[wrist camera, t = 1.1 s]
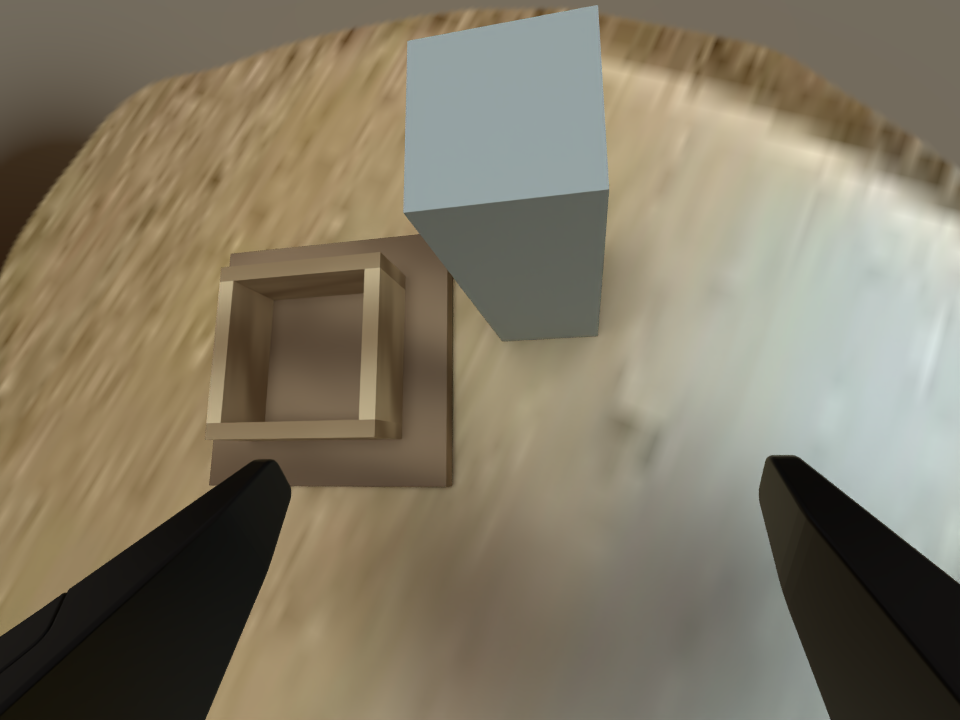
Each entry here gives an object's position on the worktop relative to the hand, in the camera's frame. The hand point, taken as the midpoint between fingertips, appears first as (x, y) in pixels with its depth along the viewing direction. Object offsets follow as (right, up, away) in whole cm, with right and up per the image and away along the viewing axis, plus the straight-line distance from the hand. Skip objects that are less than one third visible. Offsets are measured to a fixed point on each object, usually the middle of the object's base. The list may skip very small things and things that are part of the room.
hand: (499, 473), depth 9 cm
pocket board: (-8, +2, +16) cm, 18 cm away
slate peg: (+3, +5, +14) cm, 15 cm away
